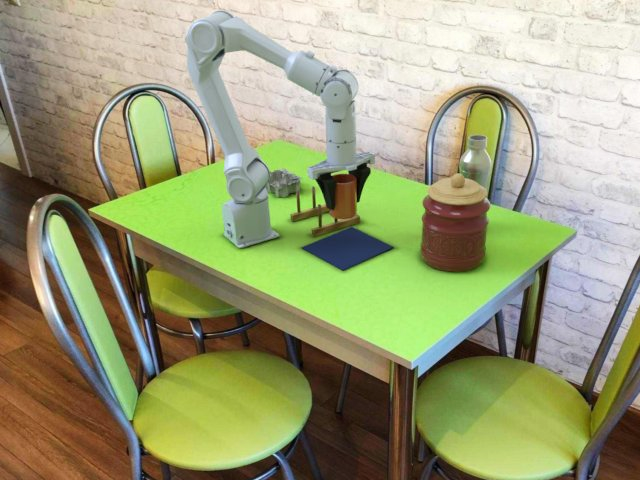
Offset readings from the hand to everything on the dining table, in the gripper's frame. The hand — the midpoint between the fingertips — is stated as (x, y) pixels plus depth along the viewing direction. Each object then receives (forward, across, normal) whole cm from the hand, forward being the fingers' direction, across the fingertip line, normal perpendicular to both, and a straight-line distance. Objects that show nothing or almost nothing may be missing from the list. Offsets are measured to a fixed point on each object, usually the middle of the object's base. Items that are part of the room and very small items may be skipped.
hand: (342, 204), depth 140 cm
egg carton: (+9, +4, +34) cm, 35 cm away
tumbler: (+2, 0, 0) cm, 2 cm away
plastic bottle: (+9, +27, -10) cm, 30 cm away
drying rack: (+9, +3, +12) cm, 15 cm away
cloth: (+9, 0, -2) cm, 9 cm away
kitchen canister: (+9, +15, -18) cm, 25 cm away
